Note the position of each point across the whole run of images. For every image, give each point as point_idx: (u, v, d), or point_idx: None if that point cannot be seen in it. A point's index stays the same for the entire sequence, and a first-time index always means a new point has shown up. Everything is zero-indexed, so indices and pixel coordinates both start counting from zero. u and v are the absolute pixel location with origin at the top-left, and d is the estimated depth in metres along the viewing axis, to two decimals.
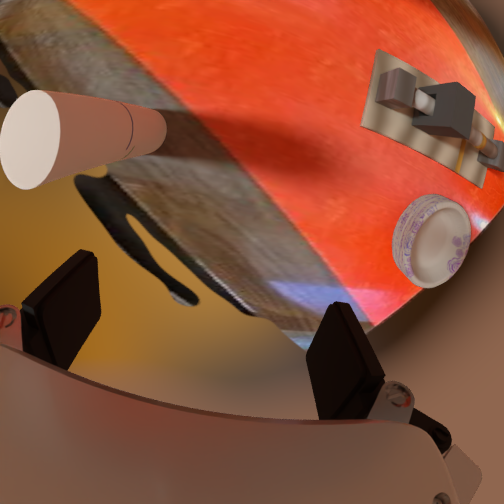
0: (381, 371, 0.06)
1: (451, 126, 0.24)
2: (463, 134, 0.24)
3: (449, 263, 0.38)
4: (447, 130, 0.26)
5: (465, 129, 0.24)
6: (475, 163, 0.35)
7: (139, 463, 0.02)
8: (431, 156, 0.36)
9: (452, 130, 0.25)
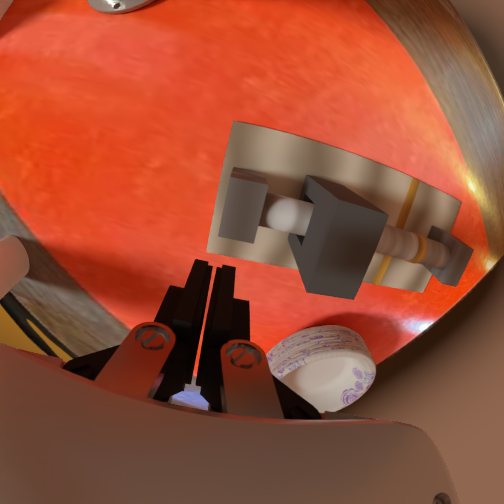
0: (228, 326, 0.07)
1: (309, 290, 0.19)
2: (339, 295, 0.20)
3: (345, 393, 0.34)
4: None
5: (347, 285, 0.19)
6: (414, 264, 0.31)
7: (139, 463, 0.02)
8: None
9: None
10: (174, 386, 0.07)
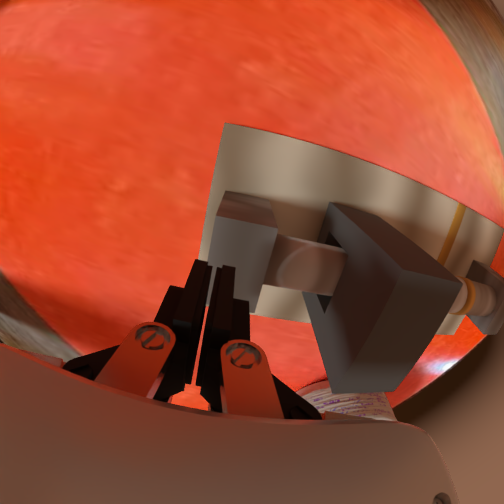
0: (227, 326, 0.07)
1: (336, 391, 0.11)
2: (376, 390, 0.12)
3: None
4: None
5: (389, 379, 0.11)
6: None
7: (139, 463, 0.02)
8: None
9: None
10: (174, 386, 0.07)
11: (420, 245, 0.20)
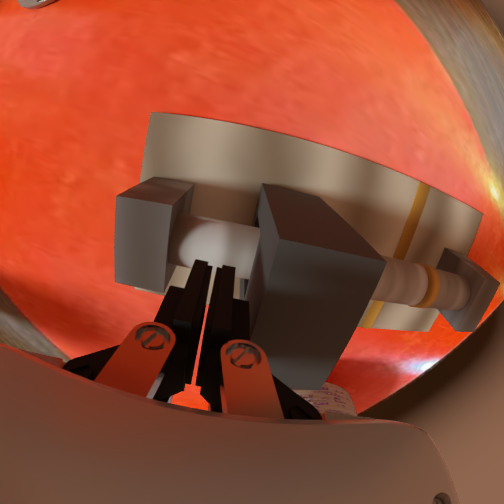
0: (227, 326, 0.07)
1: None
2: (294, 387, 0.11)
3: None
4: None
5: (306, 375, 0.11)
6: None
7: (139, 463, 0.02)
8: None
9: None
10: (174, 386, 0.07)
11: (373, 229, 0.19)
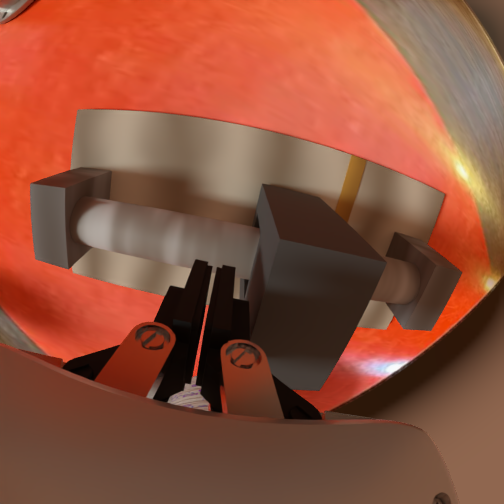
0: (227, 326, 0.07)
1: None
2: (294, 387, 0.11)
3: None
4: None
5: (306, 375, 0.11)
6: None
7: (139, 463, 0.02)
8: None
9: None
10: (174, 386, 0.07)
11: None
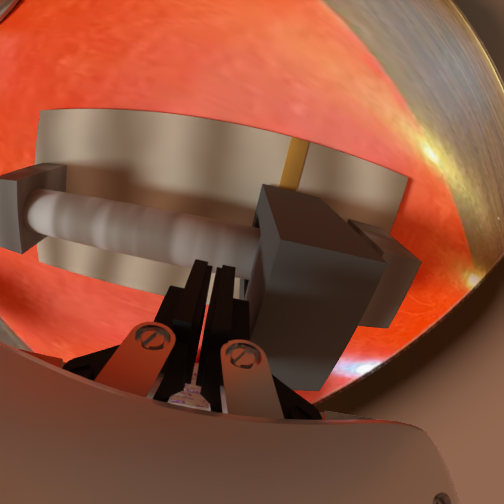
0: (227, 326, 0.07)
1: None
2: (294, 387, 0.11)
3: None
4: None
5: (306, 375, 0.11)
6: None
7: (139, 463, 0.02)
8: None
9: None
10: (174, 386, 0.07)
11: (234, 196, 0.18)
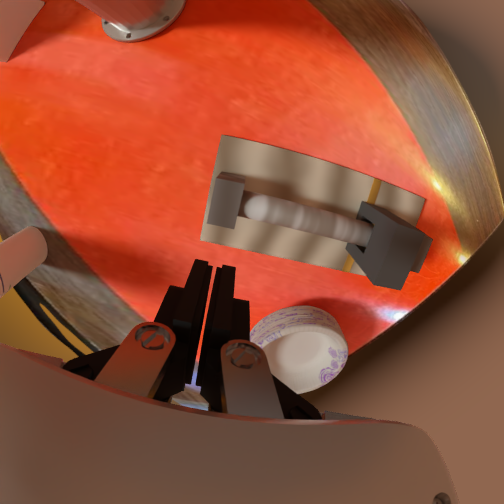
0: (227, 326, 0.07)
1: (375, 283, 0.27)
2: (392, 287, 0.27)
3: (322, 372, 0.39)
4: None
5: (397, 280, 0.27)
6: None
7: (139, 463, 0.02)
8: (301, 260, 0.37)
9: None
10: (174, 386, 0.07)
11: (345, 205, 0.34)
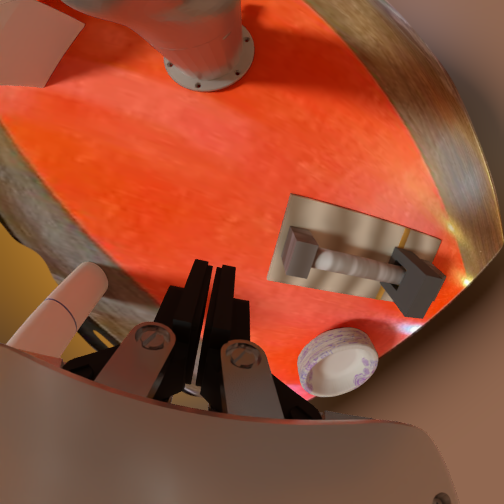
0: (228, 326, 0.07)
1: (406, 315, 0.34)
2: (417, 317, 0.34)
3: (356, 377, 0.47)
4: None
5: (421, 312, 0.34)
6: None
7: (139, 463, 0.02)
8: (345, 292, 0.45)
9: None
10: (174, 386, 0.07)
11: (382, 250, 0.41)
